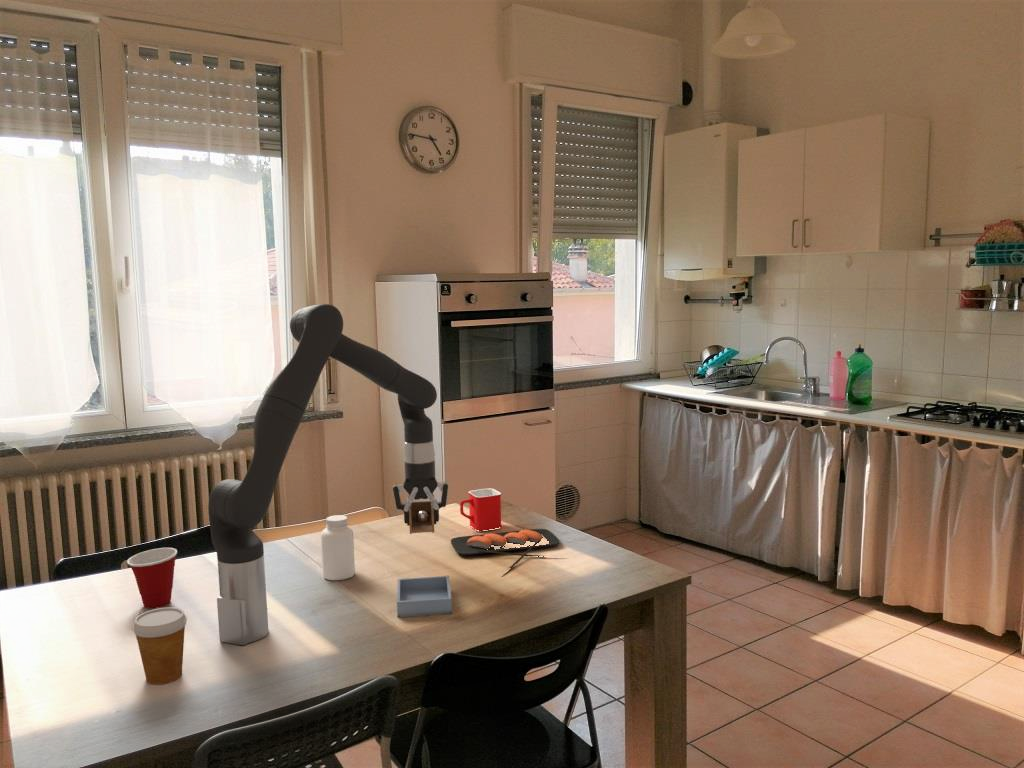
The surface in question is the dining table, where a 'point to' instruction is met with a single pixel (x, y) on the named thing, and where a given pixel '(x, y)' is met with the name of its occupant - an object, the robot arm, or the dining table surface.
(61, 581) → the dining table surface
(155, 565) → the plastic cup
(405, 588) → the dish
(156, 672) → the disposable coffee cup
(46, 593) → the dining table surface
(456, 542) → the sushi plate
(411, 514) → the channel
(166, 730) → the dining table surface
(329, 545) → the pill bottle
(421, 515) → the ball
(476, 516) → the mug
